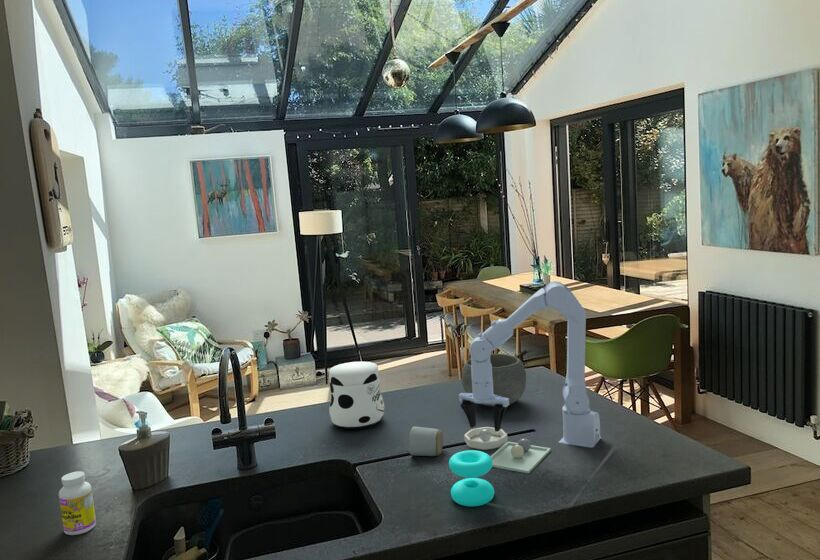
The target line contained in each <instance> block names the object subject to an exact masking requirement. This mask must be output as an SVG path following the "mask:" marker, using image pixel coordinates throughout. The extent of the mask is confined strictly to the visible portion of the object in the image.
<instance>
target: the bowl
mask: <svg viewBox="0 0 820 560" xmlns="http://www.w3.org/2000/svg"><path fill="white" fill-rule="evenodd" d="M490 361H491V364H492V377H493V393H494V395H497V396H501V397H504V398H509V405H511V404H512V405H513V404H514V403H515V402H517V401H519V399H520V398H521V397H522V396H523V394H524V392H525V390H526V385H527V371H526V367H525V366H524V363H523V362H522V360H521V359H520V358H518V357H516V356H514V355H510V354H509V353H508V354H507V353H491V356H490ZM471 365H472V363H471V358H469V359H468V360H467V361H465V363H464V365H463V368H462V370H461V384H462V387H463V391H464V393H473V390H472V375H471ZM478 404H480V405H482V406H485V407H491V408H493V407H494V406H495V405H492V404H484V403H478Z"/></svg>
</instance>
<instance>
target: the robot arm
mask: <svg viewBox="0 0 820 560" xmlns="http://www.w3.org/2000/svg"><path fill="white" fill-rule="evenodd" d="M548 307H549V308H551V309H553V310H555V311H557V312H560V313H561V315H563V316H564V317H566V318H567V325H566V327H567V328H566V329H567V330H566V331H567V333H566V334H567V336H566V339H567V340H566V375H565V383H564V386H562V390H561V395H562V397H563V400H564V405H562V407H561V409H562V428H563V431H562V432H563V437H562V438H561V439H560V440H559V441H558V443H560V444H566V445H573V446H580V447H585V448H590V449H591V448H594V447H595V446H596V445H597V443H598V442H599V441H600V439H602V437H601V420H600V418H601V417H600V414H599V413H598V412H597V411H593V410H591V408H590V399H589V396H588V394H587V386H586V384H587V383H586V336H587V335H586V334H587V333H586V332H587V330H586V328H587V327H586V324H587V323H586V322H587V312H586V310H585V309H584V307H583V306H582V304H581V303H580V302H579V300H578V299H577V297H576V296H575V294H574V293H573V291H572V290H571V289H570V288H569V287H567V286H566V285H565V284H564V283H562V282H561V281H558V280H557V281H551V282H548V283H547V284H545V286H544V287H542V288H540V289H539V290H537V291H536V292H535V293H533V294H532V295H531V296H529V298H528V299H526V301H524V302H523V303H522V304H521V305H520V306H519V307H518V308H517V309H516V310H515V311H514V312H512V313H511V314H510V315H509V316H508V317H507V318H504V319H503V318H499V319H497V320H496V319H494V320H493V321H492V322H491V324H490V326H489V327H488V328H486V330H485V331H483V332H479V333H478V335H477V337H475V338H473V339H472V340H471V342H470V344H469V345H470V346H469V350H468V351H469V354H470V355H469V356H470V359H471V363H472V365H471V375H472V390H473V393H465V392H461V393H459V394H458V401H459V402H461V404H460V408H461V409H462V411H463V412H464V414H465V416H466V418H467V420H468V424H469V428H471V429H474V428H475V427H476V425H477V423H476V422H477V420H476V408H477V407H476V405H477V404H479V403H484V404H492V405H495V406H494V407H491V412H492V416H493V422H494V423H493V424H494V425H493V426H494V427H493V428H495V431H499V430H500V429H502V428H501V427H502V423H503V418H504V415H505V412H506V410H507V408H508V406H510V404H509V398H504V397H501V396H497V395H494V393H493V377H492V364H491V361H490V356H491V354H492V352H493V351H496V350H497V349H499V348H500V347H501V346H502V345H503V344H504V343H506V342H507V341H508V340H509V339H510V338H512V337H513V336H514V329H515V328H517V327H518V326H519V325H520V324H521V323H523V322H524V321H526V319H528V318H529V317H531V316H532V315H533V314H535V312H537V311H540V312H541V311H548V310H549V309H548Z"/></svg>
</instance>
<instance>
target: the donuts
mask: <svg viewBox="0 0 820 560" xmlns="http://www.w3.org/2000/svg"><path fill="white" fill-rule="evenodd" d="M490 456H491V455H489V454H488V453H486V452H484V451H481V450H474V449H470V450H469V449H468V450H463V451H459V452H456V453H454V454H453V455H452V456H451V457H450V458H449V459H448V467H449V469H450V471H451V472H452V473H453V474H455V475H457V476H459V477H461V478H462V477H463V478H462V479H461V480H458V481H456V482H455V483H454V484H453V485H452V487H451V488H450V496H451V498H452V500H453V501H454V502H455V503H457V504H458V505H460V506H465V507H480V506H484V505H486V504H488V503H489V502H491V501H492V499H494V497H495V488H494V486H493V485H492V484H491V483H490V482H489V481H487V480H486V479H482V478H479V477H482V476H485V475H486V474H487V473H489V472H490V471H491V469H492V468H493V467H492V465H493V461H492V458H491V457H490Z"/></svg>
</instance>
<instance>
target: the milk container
mask: <svg viewBox="0 0 820 560" xmlns="http://www.w3.org/2000/svg"><path fill="white" fill-rule="evenodd" d="M379 373H380V371H379V367H378V364H377V363H375V362H371V361H351V362H344V363H339V364H337V365H334V366H332V367H331V368H330V369H329V373H328V375H329V376H328V380H329V390H330V403H329V408H328V409H329V410H328V412H329V417H330V420H331V423H333V424H334V425H335V426H336V427H339V428H341V429H348V430H349V429H352V430H353V429H362V428H368V427H372V426H374V425H376V424H378V423H379V422H380V421H381V420H383V419H384V417H385V402H384V398H383V395H382V392H381V387H380V386H381V385H380V374H379Z"/></svg>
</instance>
